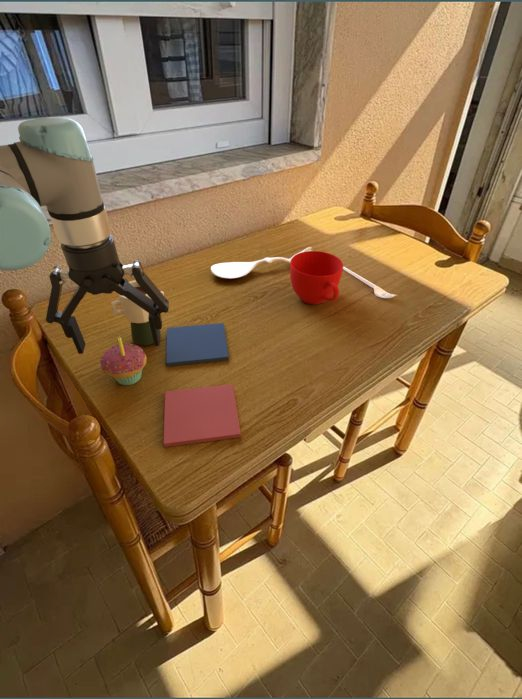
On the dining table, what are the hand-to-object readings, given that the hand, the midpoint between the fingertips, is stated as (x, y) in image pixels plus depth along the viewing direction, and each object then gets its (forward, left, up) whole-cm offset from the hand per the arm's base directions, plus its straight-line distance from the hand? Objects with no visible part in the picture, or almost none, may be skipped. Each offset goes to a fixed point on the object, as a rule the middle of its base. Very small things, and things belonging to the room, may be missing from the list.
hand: (120, 345), depth 71 cm
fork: (+61, +27, -9) cm, 67 cm away
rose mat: (+14, -12, -8) cm, 20 cm away
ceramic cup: (+45, +21, -9) cm, 50 cm away
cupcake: (0, 0, -9) cm, 9 cm away
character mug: (+3, +12, -9) cm, 15 cm away
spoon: (+35, +39, -9) cm, 53 cm away
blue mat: (+14, +8, -8) cm, 18 cm away
